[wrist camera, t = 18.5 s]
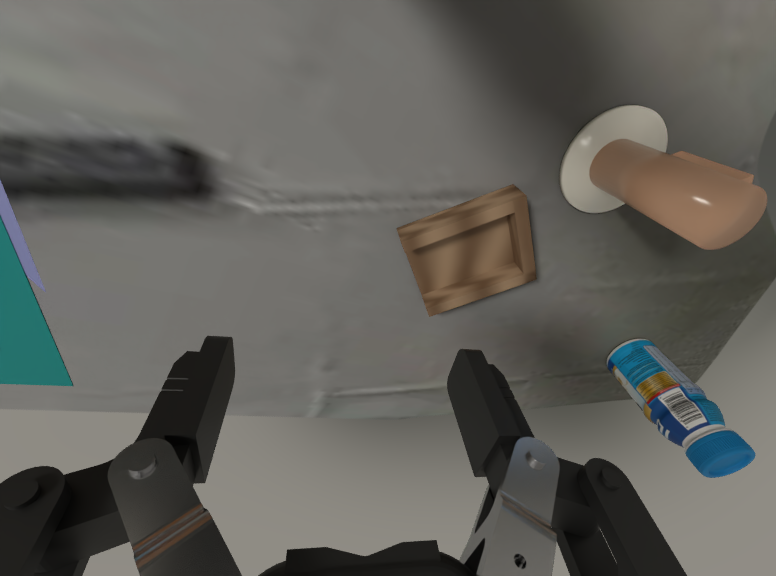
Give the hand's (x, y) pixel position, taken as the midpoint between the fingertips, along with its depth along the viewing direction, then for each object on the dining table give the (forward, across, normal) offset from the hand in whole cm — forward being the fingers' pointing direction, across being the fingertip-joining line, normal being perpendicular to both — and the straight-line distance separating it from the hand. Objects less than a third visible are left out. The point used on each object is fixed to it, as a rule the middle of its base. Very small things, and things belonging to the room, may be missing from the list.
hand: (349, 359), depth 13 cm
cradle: (+30, -17, +10) cm, 36 cm away
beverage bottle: (+30, -53, +27) cm, 67 cm away
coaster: (+30, -31, -3) cm, 43 cm away
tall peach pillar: (+29, -32, -3) cm, 43 cm away
